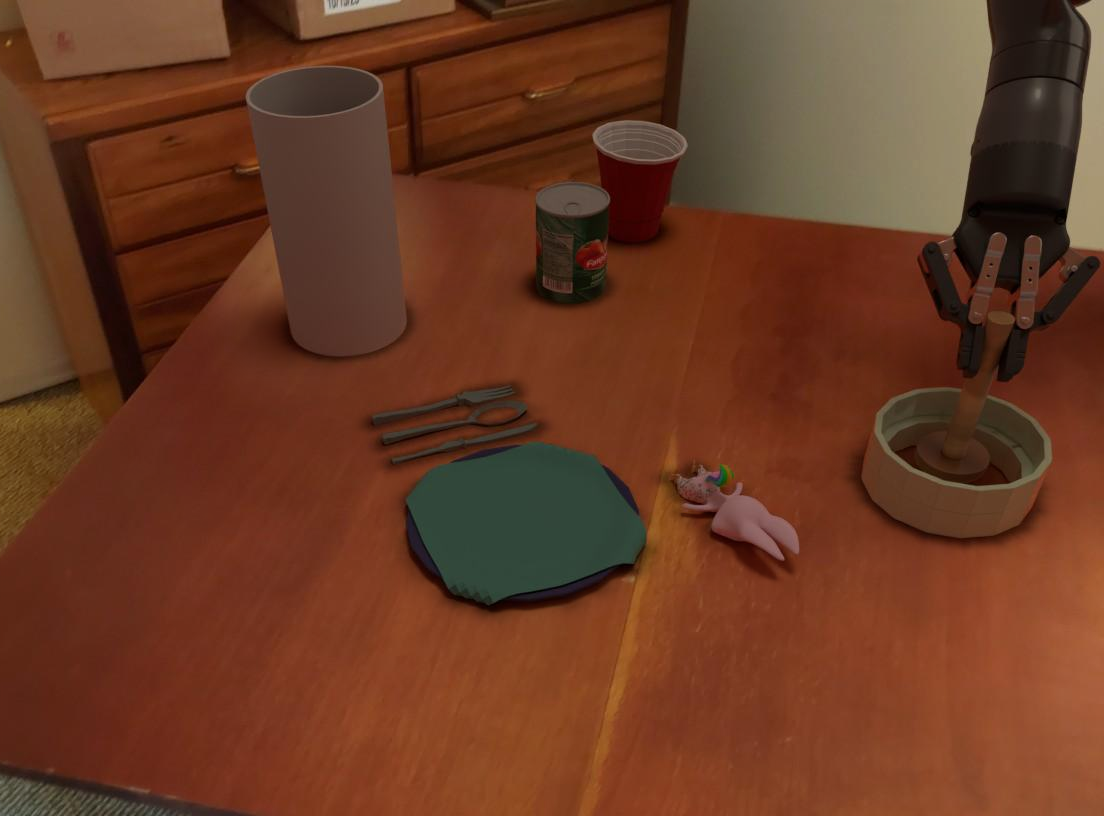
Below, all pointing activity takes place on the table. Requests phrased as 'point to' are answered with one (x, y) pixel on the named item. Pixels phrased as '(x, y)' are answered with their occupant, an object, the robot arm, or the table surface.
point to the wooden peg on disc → (967, 415)
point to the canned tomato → (571, 242)
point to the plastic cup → (637, 174)
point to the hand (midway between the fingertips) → (987, 377)
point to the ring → (951, 504)
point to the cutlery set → (515, 512)
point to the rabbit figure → (735, 511)
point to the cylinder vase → (331, 206)
